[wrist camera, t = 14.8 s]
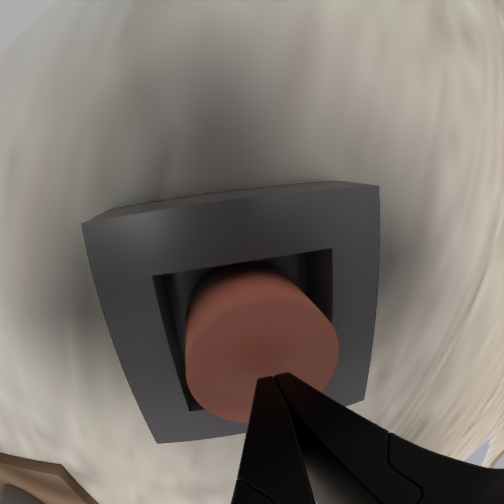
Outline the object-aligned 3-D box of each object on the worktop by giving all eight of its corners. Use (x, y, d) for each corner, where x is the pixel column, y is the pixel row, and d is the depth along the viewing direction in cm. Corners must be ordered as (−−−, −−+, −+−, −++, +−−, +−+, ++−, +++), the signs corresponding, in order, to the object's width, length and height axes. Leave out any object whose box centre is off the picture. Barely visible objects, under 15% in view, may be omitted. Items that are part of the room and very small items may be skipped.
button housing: (336, 363, 14) (363, 399, 11) (159, 397, 13) (157, 443, 10) (337, 180, 12) (379, 185, 9) (108, 210, 10) (81, 223, 7)
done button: (305, 356, 12) (334, 403, 9) (197, 377, 11) (203, 432, 8) (302, 253, 10) (341, 284, 8) (174, 273, 10) (168, 314, 7)
